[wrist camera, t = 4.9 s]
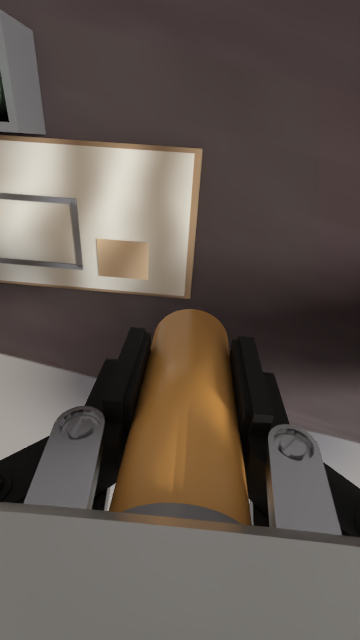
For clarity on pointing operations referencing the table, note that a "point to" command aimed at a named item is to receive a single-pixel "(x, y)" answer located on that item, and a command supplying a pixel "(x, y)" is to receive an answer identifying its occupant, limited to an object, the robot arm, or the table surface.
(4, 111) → the button
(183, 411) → the marker
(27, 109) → the button housing
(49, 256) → the sheet
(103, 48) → the table surface
